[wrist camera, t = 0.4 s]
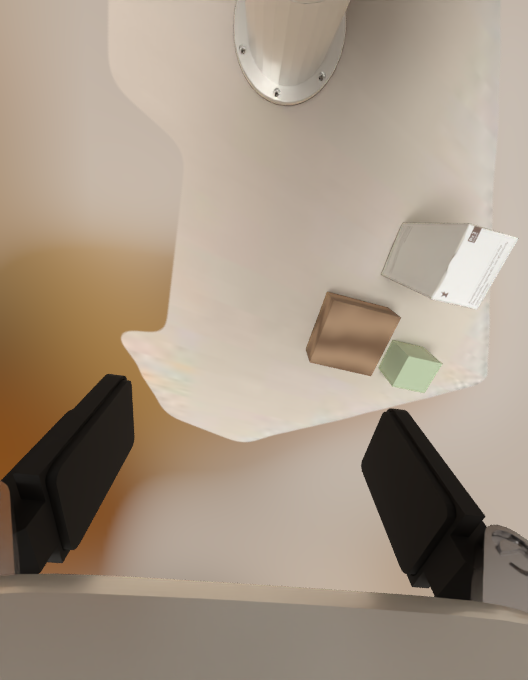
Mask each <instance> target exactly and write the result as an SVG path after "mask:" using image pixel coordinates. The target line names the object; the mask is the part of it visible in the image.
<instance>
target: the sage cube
mask: <svg viewBox="0 0 528 680" xmlns="http://www.w3.org/2000/svg"><path fill="white" fill-rule="evenodd" d="M441 365H442V363H441V362H440V361H439V360H437V359H436V358H435V357H434V356H433V355H432V354H430V353H429V352H428V351H427V350H426V349H424V348H423V347H420V346H416V345H412V344H407V343H403V342H399V341H394V340H392V342H391V344H390V346H389V348H388V350H387V352H386V354H385V356H384V358H383V360H382V362H381V364H380V366H379V369H380V371H381V372H382V373H383V375H384V376H385V377H386V379H387V380H388V381H389V383H390V384H391V385H392V387H397V388H402V389H407V390H411V391H416V392H421V393H425V391H426V390H427V388H428V387H429V385H430V383H431V382H432V380H433V378H434V377H435V375H436V374H437V372H438V370H439V369H440V367H441Z"/></svg>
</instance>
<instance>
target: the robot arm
mask: <svg viewBox="0 0 528 680" xmlns="http://www.w3.org/2000/svg"><path fill="white" fill-rule="evenodd" d="M349 2H350V0H237V1H236V6H235V11H234V23H233V31H234V43H235V49H236V54H237V58H238V61H239V65H240V67H241V69H242V71H243V74H244V76H245V78H246V79H247V81H248V82H249V84H250V85H251V87H252V88H253V89H254V90H255V91H256V92H257V93H258V94H259V95H260V96H262V97H263V98H265V99H266V100H268V101H270V102H273V103H275V104H280V105H295V104H299V103H302V102H304V101H307V100H308V99H310V98H311V97H313V96H315V95H316V94H317V93H318V92H319V91H320V90H321V89H322V88H323V87H324V86H325V84H326V83H327V82H328V80H329V79H330V77H331V75H332V74H333V72H334V70H335V68H336V66H337V64H338V61H339V59H340V56H341V53H342V49H343V45H344V41H345V33H346V9H347V7H348V4H349ZM242 50H244V51H245V54H241V51H242ZM319 77H322V79H323V80H322V81H320V80H319ZM275 93H278V95H279V96H278V97H275V95H274V94H275ZM133 443H134V421H133V403H132V385H131V381H127V378H126V377H125V376H121V375H113V374H107V375H105V377H103V379H101V381H99V383H98V384H97V385H96V386H95V387H94V388H93V389H92V390H91V391H90V392H89V393H88V394H87V395H86V396H85V397H84V398H83V399H82V401H81V402H80V403H79V404H78V405H77V406H76V407H75V408H74V409H72V410H70V411H68V412H67V413H66V414H65V415H64V416H63V417H62V418H61V419H60V420H59V421H58V422H57V423H56V424H55V425H54V426H53V427H52V428H51V430H49V431H48V433H46V435H45V436H44V437H43V438H42V439H41V440H40V441H39V442H38V443H37V444H36V445H35V446H34V447H33V448H32V449H31V450H30V451H29V452H28V453H27V454H26V455H25V456H24V457H23V458H22V459H21V460H20V461H19V462H18V463H17V465H15V467H14V468H13V469H12V470H11V471H10V472H9V473H8V474H7V475H6V476H5V477H4V478H3V479H2V480H1V481H0V680H528V540H526V539H525V538H524V537H522V536H520V535H519V534H518V533H516V532H515V531H513V530H511V529H508V528H507V527H503V526H500V525H490V526H488V527H486V525H485V524H484V522H483V521H482V520H483V519H484V518H485V515H484V514H483V512H482V511H481V510H480V509H479V507H478V506H477V504H476V503H475V502H474V500H473V499H472V498H471V496H470V495H469V494H468V492H467V491H466V490H465V488H464V487H463V486H462V484H461V483H460V482H459V480H458V479H457V478H456V476H455V475H454V474H453V472H452V471H451V470H450V468H449V467H448V465H447V464H446V463H445V462H444V460H443V459H442V457H441V456H440V455H439V453H438V452H437V451H436V449H435V448H434V447H433V445H432V444H431V443H430V441H429V440H428V439H427V437H426V436H425V434H424V433H423V432H422V430H421V429H420V428H419V426H418V425H417V424H416V422H415V421H414V420H413V418H412V417H411V416H410V414H409V413H408V412H407V411H405V410H399V409H388V410H387V412H384V413H383V414H382V416H381V418H380V421H379V423H378V425H377V427H376V430H375V432H374V435H373V437H372V439H371V441H370V444H369V446H368V448H367V451H366V453H365V455H364V458H363V460H362V464H361V467H362V472H363V475H364V477H365V480H366V482H367V485H368V487H369V490H370V492H371V495H372V498H373V500H374V503H375V505H376V508H377V510H378V513H379V515H380V517H381V520H382V523H383V525H384V528H385V530H386V533H387V535H388V538H389V540H390V543H391V545H392V548H393V550H394V553H395V556H396V558H397V561H398V563H399V566H400V567H401V570H402V571H403V572H404V573H405V574H407V576H408V579H409V581H410V583H411V586H412V587H420V588H421V587H422V588H429V587H431V589H432V591H433V593H434V597H426V596H413V595H401V594H387V593H372V592H358V591H344V590H331V589H315V588H301V587H286V586H271V585H256V584H240V583H224V582H208V581H190V580H175V579H158V578H141V577H125V576H101V575H100V576H99V575H76V574H75V575H74V574H39V573H40V572H41V571H42V569H43V567H44V566H45V564H46V563H47V562H52V563H63V561H64V560H65V558H66V556H67V554H68V553H69V551H70V550H74V549H76V548H77V547H78V545H79V544H80V542H81V540H82V538H83V537H84V535H85V533H86V531H87V529H88V527H89V526H90V524H91V522H92V520H93V518H94V516H95V515H96V513H97V511H98V509H99V507H100V505H101V503H102V502H103V500H104V498H105V496H106V494H107V492H108V491H109V489H110V487H111V485H112V483H113V481H114V480H115V478H116V476H117V474H118V472H119V470H120V468H121V466H122V465H123V463H124V461H125V459H126V458H127V456H128V454H129V452H130V450H131V448H132V446H133Z"/></svg>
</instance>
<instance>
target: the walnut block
mask: <svg viewBox="0 0 528 680" xmlns="http://www.w3.org/2000/svg"><path fill="white" fill-rule="evenodd" d="M400 319H401V317H400V316H398V315H397V314H396V313H394V312H393V311H392V310H391V309H389V308H388V307H384V306H380V305H376V304H372V303H368V302H365V301H361V300H357V299H353V298H349V297H346V296H342V295H338V294H334V293H330V292H327V293H326V296H325V299H324V301H323V304H322V307H321V309H320V312H319V315H318V317H317V320H316V323H315V326H314V328H313V331H312V334H311V336H310V339H309V342H308V344H307V347H306V352H307V355H308V358H309V361H310V362H311V363H315V364H320V365H324V366H328V367H333V368H337V369H342V370H346V371H350V372H355V373H359V374H364V375H368V376H371V375H372V373H373V371H374V369H375V368H376V366H377V364H378V362H379V360H380V358H381V356H382V354H383V352H384V350H385V348H386V346H387V344H388V342H389V340H390V338H391V336H392V334H393V332H394V330H395V329H396V327H397V325H398V323H399V321H400Z"/></svg>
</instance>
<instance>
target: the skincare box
mask: <svg viewBox="0 0 528 680" xmlns="http://www.w3.org/2000/svg"><path fill="white" fill-rule="evenodd" d="M517 240H518V238H517V237H513V236H509V235H506V234H503V233H500V232H496V231H493V230H490V229H486V228H483V227H480V226H476V225H473V224H469V223H402V226H401V228H400V230H399V233H398V235H397V237H396V240H395V242H394V245H393V247H392V249H391V252H390V254H389V257H388V259H387V262H386V264H385V267H384V269H383V271H382V274H381V275H383V276H385V277H387V278H389V279H391V280H393V281H395V282H397V283H399V284H402V285H404V286H406V287H408V288H410V289H412V290H414V291H416V292H418V293H420V294H422V295H424V296H426V297H428V298H430V299H431V300H436V301H440V302H444V303H448V304H453V305H457V306H462V307H467V308H472V309H478V308H479V306H480V304H481V302H482V301H483V299H484V297H485V295H486V294H487V292H488V290H489V288H490V287H491V285H492V283H493V281H494V280H495V278H496V276H497V274H498V273H499V271H500V269H501V268H502V266H503V264H504V262H505V261H506V259H507V257H508V255H509V254H510V252H511V250H512V248H513V247H514V245H515V244H516V242H517Z"/></svg>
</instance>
